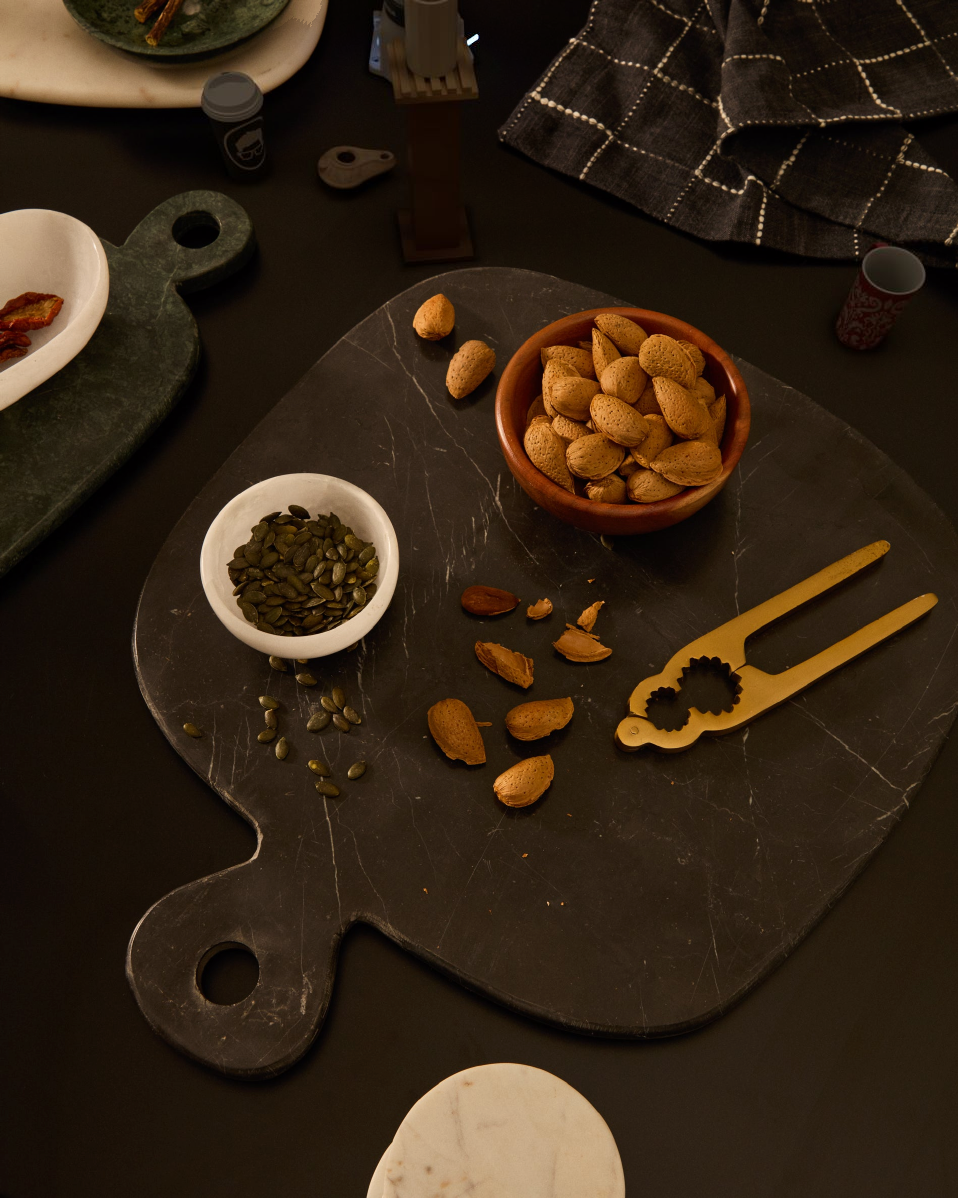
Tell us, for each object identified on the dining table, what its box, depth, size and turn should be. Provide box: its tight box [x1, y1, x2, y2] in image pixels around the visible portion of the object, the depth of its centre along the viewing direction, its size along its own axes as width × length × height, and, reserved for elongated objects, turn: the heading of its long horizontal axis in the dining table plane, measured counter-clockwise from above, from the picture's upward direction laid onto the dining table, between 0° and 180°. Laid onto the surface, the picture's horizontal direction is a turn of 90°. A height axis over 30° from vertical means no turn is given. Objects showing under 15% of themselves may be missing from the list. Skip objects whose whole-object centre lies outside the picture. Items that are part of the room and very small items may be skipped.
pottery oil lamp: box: [317, 145, 397, 190], centre depth 160 cm, size 9×12×7 cm
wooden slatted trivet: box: [386, 32, 479, 106], centre depth 130 cm, size 11×11×2 cm
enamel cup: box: [403, 0, 459, 78], centre depth 125 cm, size 7×7×10 cm
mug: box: [834, 241, 927, 351], centre depth 146 cm, size 13×9×14 cm
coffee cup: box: [200, 70, 269, 184], centre depth 156 cm, size 10×10×15 cm
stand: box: [396, 100, 475, 267], centre depth 144 cm, size 11×11×30 cm
